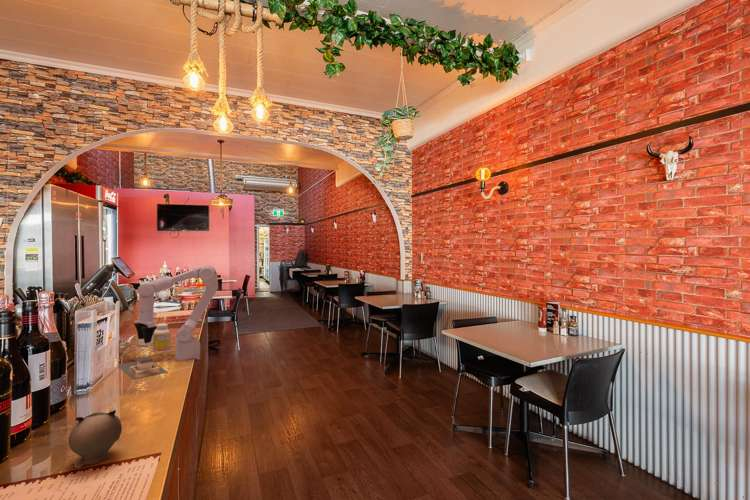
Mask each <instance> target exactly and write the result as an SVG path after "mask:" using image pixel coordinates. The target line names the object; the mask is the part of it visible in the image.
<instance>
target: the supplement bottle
mask: <svg viewBox="0 0 750 500" xmlns="http://www.w3.org/2000/svg"><path fill="white" fill-rule="evenodd" d="M168 326H169V325H168V323H158V324H156V327H157V328H156V330H155V331H154V342H153V345H152V350H153V351H156V352H163V351H167V350H169V349H170V334H171V333H170V332H171V330H170V329H168Z"/></svg>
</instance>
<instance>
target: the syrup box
mask: <svg viewBox="0 0 750 500" xmlns="http://www.w3.org/2000/svg"><path fill="white" fill-rule="evenodd" d="M156 317H157V316H155V315H153V319H154V321H153V322H154V326H156ZM153 342H154V333H153V336H152V339H151V342H149V343H145V342H144V339H139V338H138V334H137V336H136V346H139V347H150V346H153Z"/></svg>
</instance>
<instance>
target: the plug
mask: <svg viewBox="0 0 750 500" xmlns="http://www.w3.org/2000/svg"><path fill="white" fill-rule="evenodd" d="M136 361H137V370H138V371H141V370H146V369H151V368H152V362H154V361H153V357H151V356H149V355H148V356H143V357H137V359H136Z"/></svg>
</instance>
